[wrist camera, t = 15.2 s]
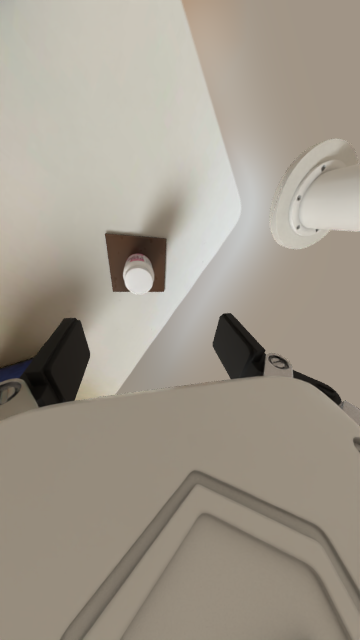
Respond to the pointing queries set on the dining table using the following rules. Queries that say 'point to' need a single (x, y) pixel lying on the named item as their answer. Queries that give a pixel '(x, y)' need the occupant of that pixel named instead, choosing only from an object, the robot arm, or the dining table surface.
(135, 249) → the coaster board
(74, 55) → the dining table surface
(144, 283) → the pill bottle
